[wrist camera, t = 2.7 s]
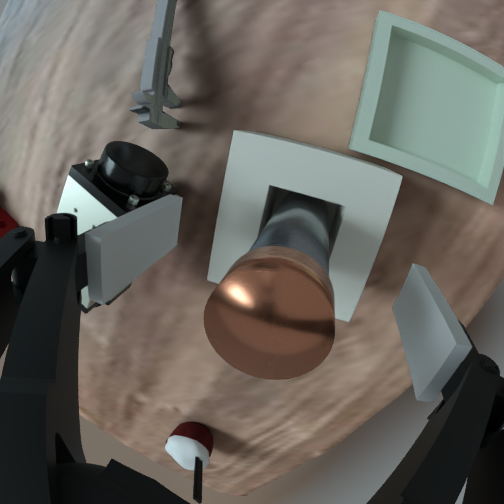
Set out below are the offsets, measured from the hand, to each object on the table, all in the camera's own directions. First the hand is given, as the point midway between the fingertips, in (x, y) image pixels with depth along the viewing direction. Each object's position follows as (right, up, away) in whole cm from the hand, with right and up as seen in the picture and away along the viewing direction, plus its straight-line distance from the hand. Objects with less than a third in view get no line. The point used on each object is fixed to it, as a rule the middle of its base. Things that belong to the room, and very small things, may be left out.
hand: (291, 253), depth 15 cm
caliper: (-8, +20, +5) cm, 22 cm away
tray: (+12, +11, +3) cm, 17 cm away
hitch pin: (+2, +3, +8) cm, 8 cm away
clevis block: (+2, +3, +8) cm, 9 cm away
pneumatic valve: (-10, +4, +11) cm, 16 cm away
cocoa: (-9, -25, +23) cm, 36 cm away
